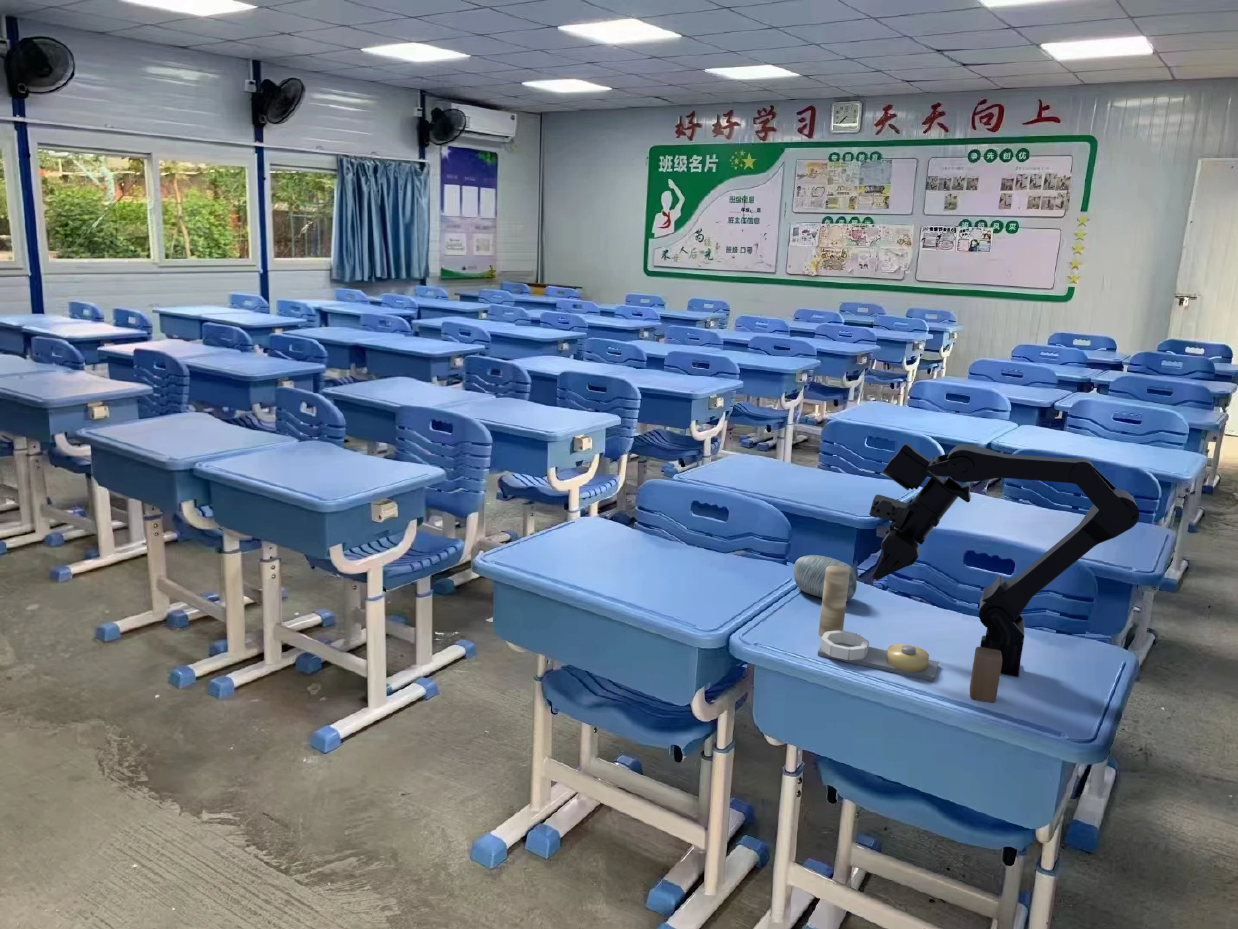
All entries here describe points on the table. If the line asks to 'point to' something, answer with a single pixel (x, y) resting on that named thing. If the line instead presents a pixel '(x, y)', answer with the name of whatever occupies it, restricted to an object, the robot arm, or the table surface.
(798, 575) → the grey streaked oval stone
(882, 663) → the board
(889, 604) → the table surface
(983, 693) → the wooden block
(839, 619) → the peg
